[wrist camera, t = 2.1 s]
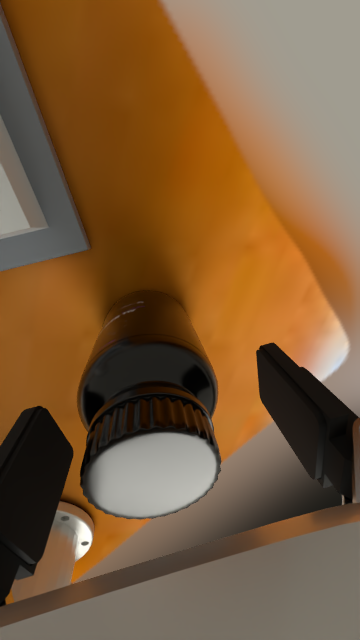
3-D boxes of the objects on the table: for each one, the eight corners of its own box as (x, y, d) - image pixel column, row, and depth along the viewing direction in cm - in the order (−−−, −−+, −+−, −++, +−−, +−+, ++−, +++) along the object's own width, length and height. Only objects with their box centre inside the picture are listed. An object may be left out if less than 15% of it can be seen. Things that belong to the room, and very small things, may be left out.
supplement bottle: (114, 277, 16) (60, 377, 5) (199, 300, 18) (287, 411, 7) (96, 356, 19) (33, 541, 8) (174, 370, 20) (213, 536, 9)
